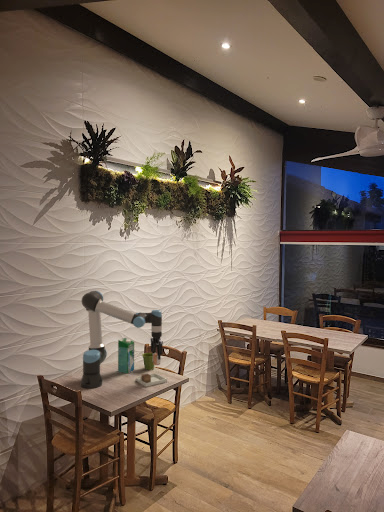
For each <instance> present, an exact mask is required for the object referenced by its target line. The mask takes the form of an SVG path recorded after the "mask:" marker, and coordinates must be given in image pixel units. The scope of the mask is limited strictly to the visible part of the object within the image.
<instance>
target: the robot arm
mask: <svg viewBox="0 0 384 512" xmlns="http://www.w3.org/2000/svg"><path fill="white" fill-rule="evenodd" d="M81 304H82V306H83V307H84V308H85V310H86V312H87V314H88V327H89V341H90V343H89V345H88V349H87V350H86V351H85V352H83V354H82V376H81V380H80V383H79V385H80V387H81V388H84V389H96V388H99V387H101V386H102V385H103V378H102V376H101V364H102V363H104V361H105V360H106V358H107V356H108V352H107V349H106V348H105V344H104V343H103V336H102V335H103V334H102V333H103V332H102V317H101V314H104V315H107V316H109V317H112V318H114V319H117V320H120V321H122V322H126V323H128V324H130V325H133V326H134V327H135V328H137V329H138V328H139V329H140V328H142V327H144V326H145V324H151V328H150V329H151V330H150V331H151V334H150V335H151V337H150V353H153V354H157V364H160V365H161V356H162V355H163V344H164V341H162V340H161V337H162V336H163V335H162V334H163V332H162V325H163V322H162V321H163V316H162V310H160V309H152V310H151V312H132V311H129V310H127V309H124V308H120V307H118V306H116V305H113V304H111V303H109V302H105V301H104V296H103V293H102V292H101V291H98V290H90V291H88V292H87V293H85V294H83V296H82V297H81Z"/></svg>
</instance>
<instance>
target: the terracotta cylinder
mask: <svg viewBox="0 0 384 512" xmlns="http://www.w3.org/2000/svg"><path fill="white" fill-rule="evenodd" d="M153 364H154V366H160V365H161V363H160V364H157V353H156V354H153Z"/></svg>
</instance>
